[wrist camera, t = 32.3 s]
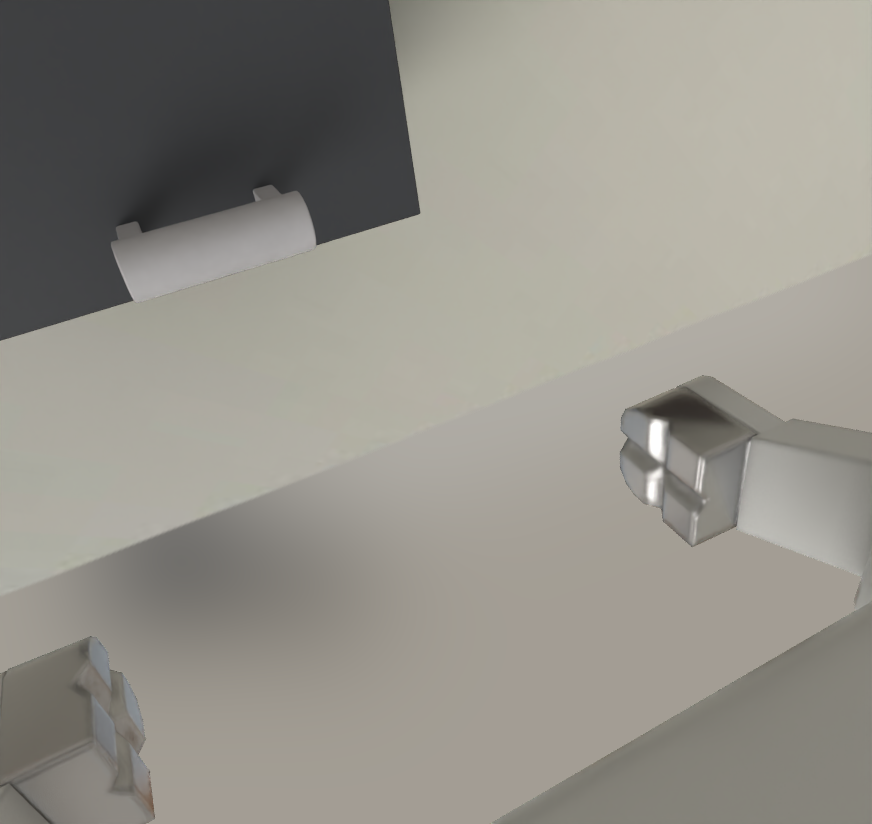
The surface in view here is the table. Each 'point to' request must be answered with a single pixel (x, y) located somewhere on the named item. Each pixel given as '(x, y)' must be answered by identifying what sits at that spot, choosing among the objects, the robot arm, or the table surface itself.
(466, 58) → the table surface
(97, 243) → the lid
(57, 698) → the robot arm
